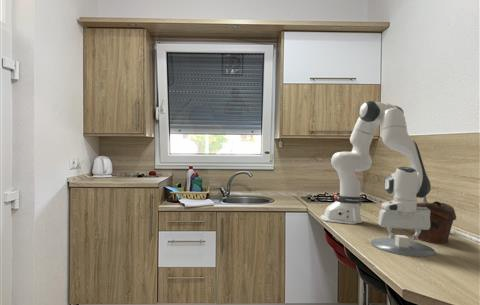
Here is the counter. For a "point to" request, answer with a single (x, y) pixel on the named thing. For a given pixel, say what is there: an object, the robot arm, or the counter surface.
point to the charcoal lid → (403, 246)
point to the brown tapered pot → (438, 222)
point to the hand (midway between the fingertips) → (403, 238)
